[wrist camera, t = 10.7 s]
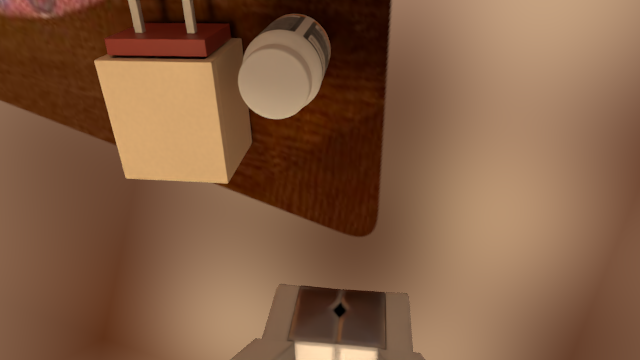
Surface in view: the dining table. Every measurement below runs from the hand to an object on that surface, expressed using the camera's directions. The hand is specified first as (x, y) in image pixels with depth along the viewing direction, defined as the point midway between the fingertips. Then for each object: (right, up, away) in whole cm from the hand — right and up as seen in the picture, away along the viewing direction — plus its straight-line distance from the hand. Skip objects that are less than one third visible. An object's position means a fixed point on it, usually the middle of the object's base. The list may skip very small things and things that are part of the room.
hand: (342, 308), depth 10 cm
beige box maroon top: (-11, +11, +29) cm, 33 cm away
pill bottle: (-2, +14, +26) cm, 30 cm away
